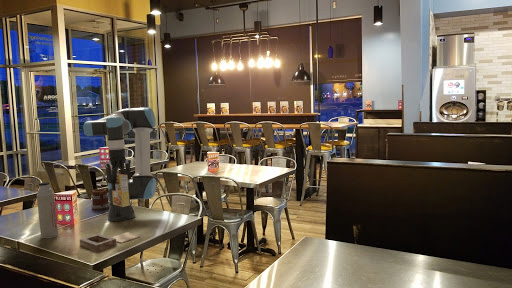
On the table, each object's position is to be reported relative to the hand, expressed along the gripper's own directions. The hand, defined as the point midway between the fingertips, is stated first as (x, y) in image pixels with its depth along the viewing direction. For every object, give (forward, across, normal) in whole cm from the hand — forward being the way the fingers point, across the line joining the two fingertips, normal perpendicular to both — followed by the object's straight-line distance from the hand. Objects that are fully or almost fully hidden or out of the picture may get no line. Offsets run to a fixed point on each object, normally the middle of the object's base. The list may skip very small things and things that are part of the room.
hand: (120, 195), depth 207 cm
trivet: (+21, 0, 0) cm, 21 cm away
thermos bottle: (+22, +19, -38) cm, 48 cm away
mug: (+22, -27, -65) cm, 74 cm away
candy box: (+5, 0, 0) cm, 5 cm away
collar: (+21, +13, -2) cm, 25 cm away
